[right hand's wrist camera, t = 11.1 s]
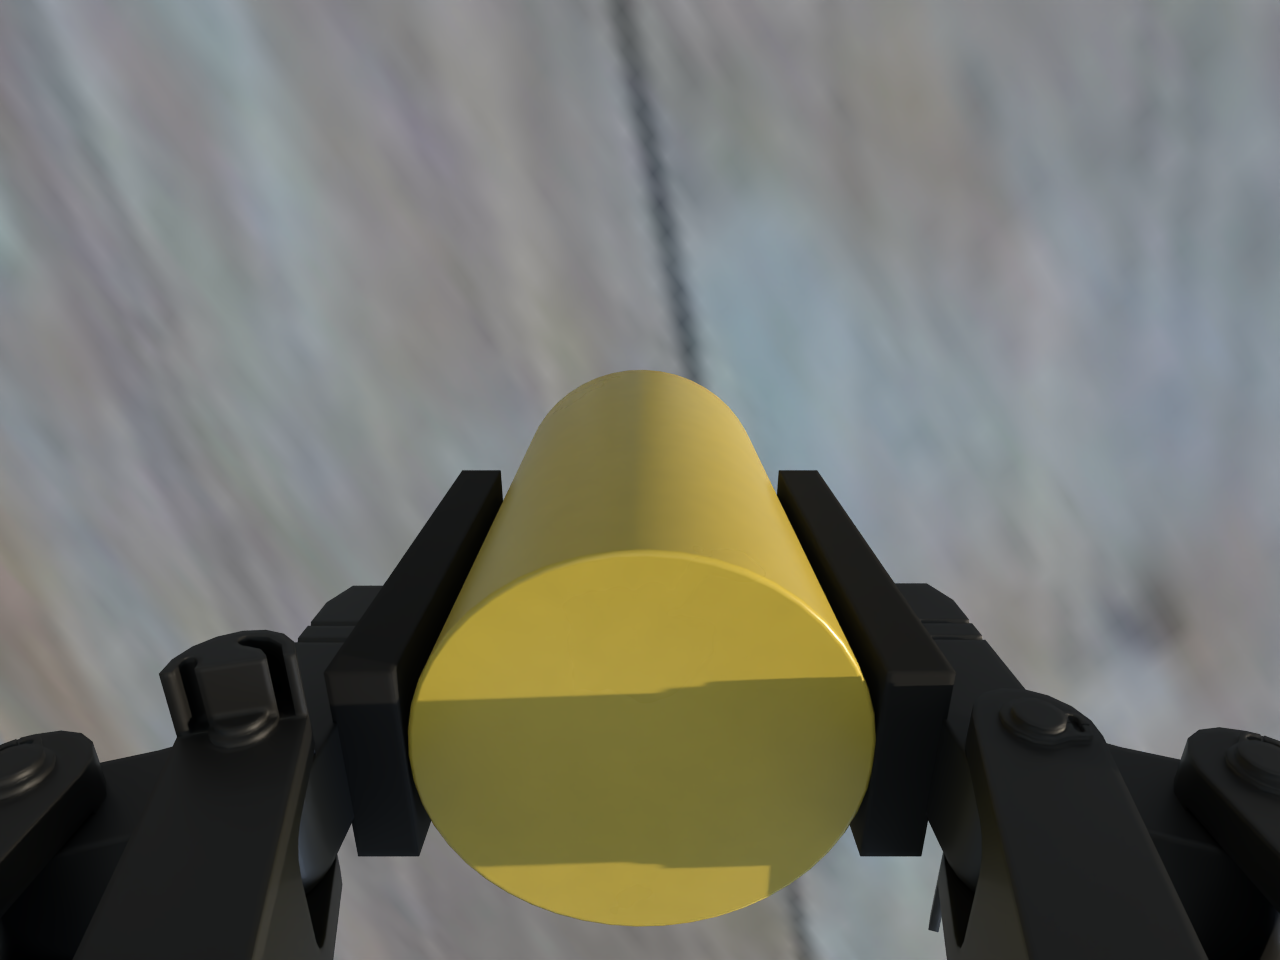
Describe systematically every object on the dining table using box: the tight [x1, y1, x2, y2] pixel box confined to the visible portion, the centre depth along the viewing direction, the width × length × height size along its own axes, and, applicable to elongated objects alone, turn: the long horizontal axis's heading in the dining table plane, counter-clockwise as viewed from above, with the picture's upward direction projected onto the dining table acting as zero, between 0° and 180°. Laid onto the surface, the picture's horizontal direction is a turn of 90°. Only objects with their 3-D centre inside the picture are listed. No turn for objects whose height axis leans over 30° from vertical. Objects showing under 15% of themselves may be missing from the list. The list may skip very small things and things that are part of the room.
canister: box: [408, 370, 876, 926], centre depth 12 cm, size 6×6×9 cm
